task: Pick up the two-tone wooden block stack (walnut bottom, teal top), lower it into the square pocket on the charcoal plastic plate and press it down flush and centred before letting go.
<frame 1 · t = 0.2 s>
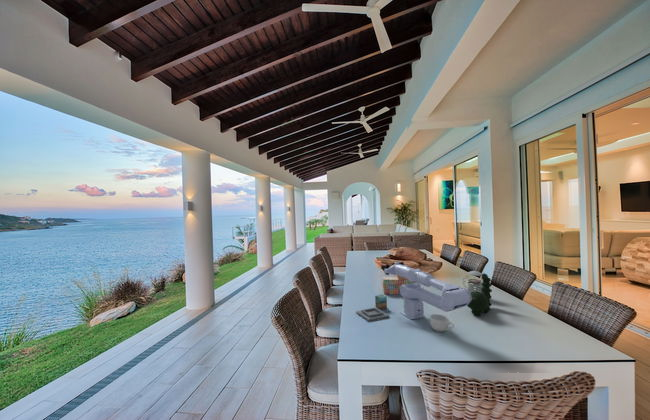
hand: (387, 265, 158), 21 cm above the table, fingers open, 7 cm apart
plate: (372, 315, 141), on the table
block stack: (381, 307, 151), on the table
stack of blocks: (400, 293, 177), on the table
teacup: (442, 330, 122), on the table
french press: (473, 297, 166), on the table
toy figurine: (480, 311, 142), on the table
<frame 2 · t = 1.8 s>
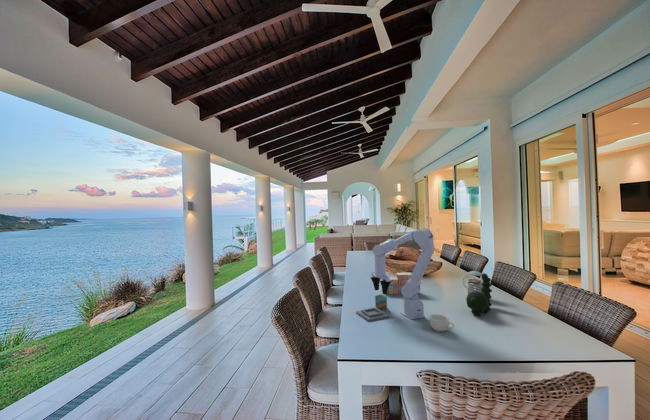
hand: (380, 291, 151), 9 cm above the table, fingers open, 7 cm apart
nothing on the table moved.
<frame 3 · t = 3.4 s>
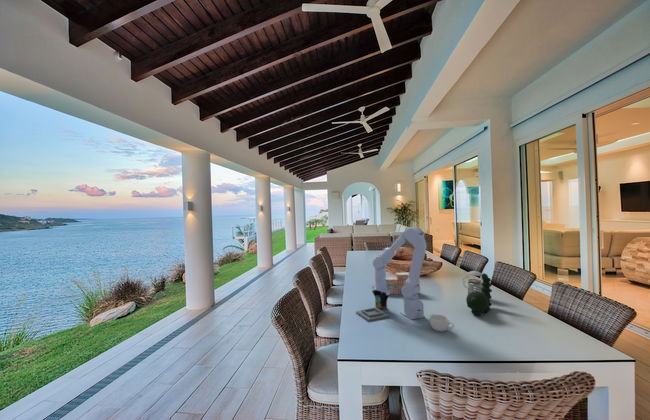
hand: (381, 304, 151), 2 cm above the table, fingers closed on block stack, 4 cm apart
block stack: (381, 307, 151), on the table, touching gripper
everything else where it was.
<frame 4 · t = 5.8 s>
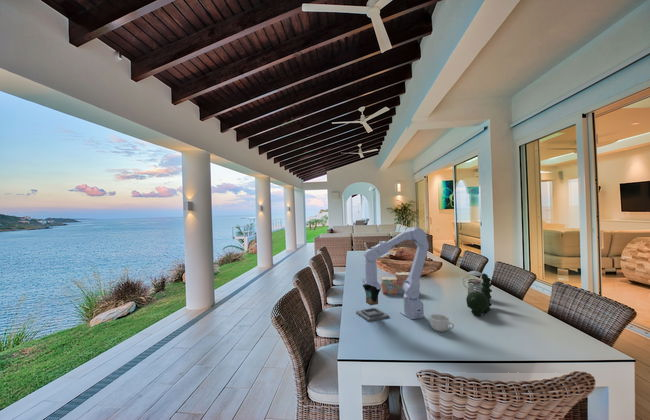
hand: (371, 299, 141), 8 cm above the table, fingers closed on block stack, 4 cm apart
block stack: (372, 303, 141), point 6 cm above the table, touching gripper
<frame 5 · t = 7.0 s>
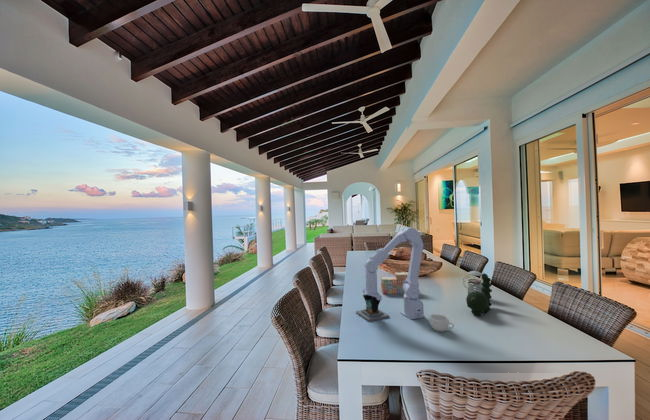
hand: (372, 310, 141), 3 cm above the table, fingers closed on block stack, 4 cm apart
block stack: (372, 313, 141), point 1 cm above the table, touching gripper, plate
when the fingers open (3 cm above the table, at t = 8.3 s): block stack stays where it is, resting on plate.
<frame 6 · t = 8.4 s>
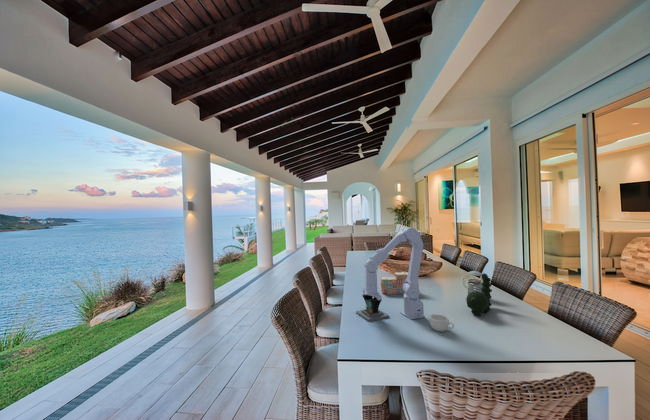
hand: (372, 310, 141), 2 cm above the table, fingers open, 5 cm apart
block stack: (372, 313, 141), point 1 cm above the table, touching plate
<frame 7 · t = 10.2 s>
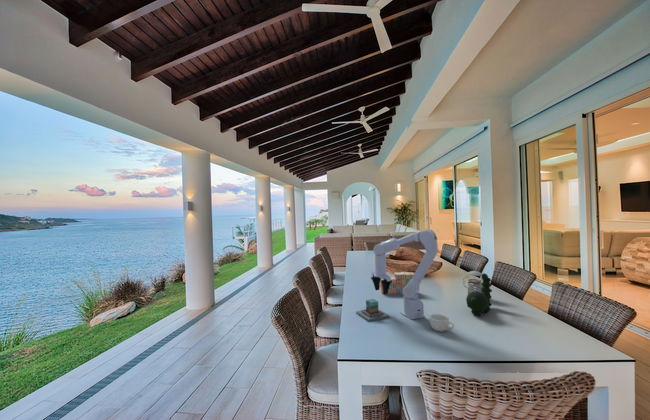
hand: (381, 291, 148), 10 cm above the table, fingers open, 7 cm apart
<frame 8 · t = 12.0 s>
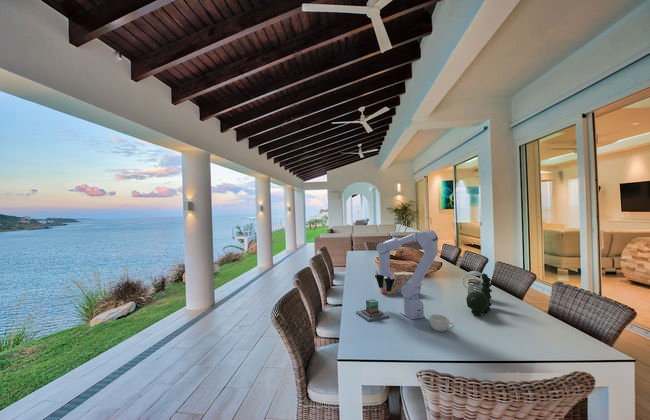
hand: (384, 289, 151), 10 cm above the table, fingers open, 7 cm apart
at the end: block stack 0.0 cm off-centre on the plate, point 1.0 cm above the plate's base; block stack tilted 0°; the gripper is holding nothing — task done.
